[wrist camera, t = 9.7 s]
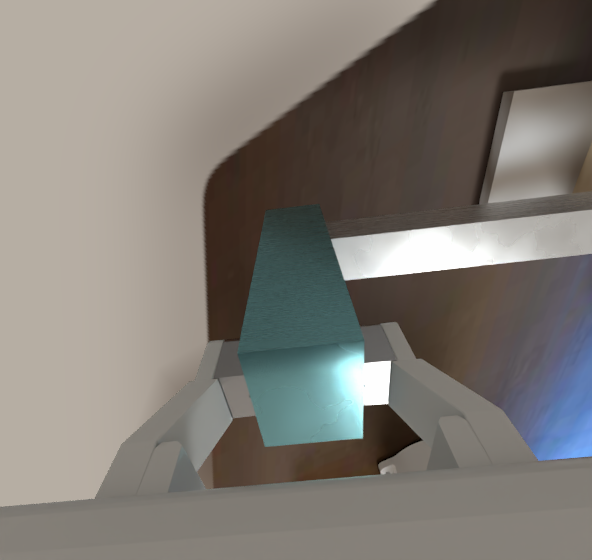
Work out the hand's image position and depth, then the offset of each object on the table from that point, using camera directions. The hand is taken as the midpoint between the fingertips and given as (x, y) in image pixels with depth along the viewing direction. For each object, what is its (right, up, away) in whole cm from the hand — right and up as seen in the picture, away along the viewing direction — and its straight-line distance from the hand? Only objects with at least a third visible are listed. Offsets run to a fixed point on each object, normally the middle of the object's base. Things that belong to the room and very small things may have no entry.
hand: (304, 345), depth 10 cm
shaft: (+12, +6, +7) cm, 15 cm away
